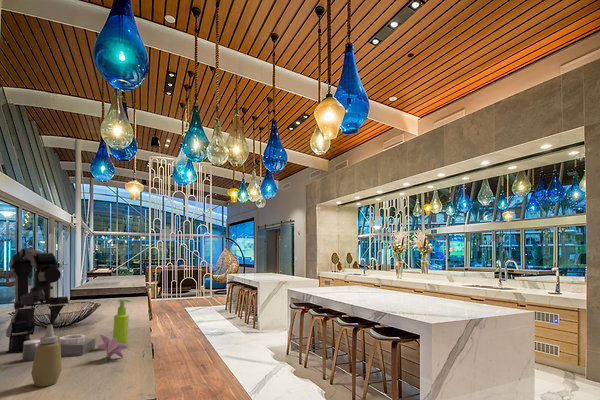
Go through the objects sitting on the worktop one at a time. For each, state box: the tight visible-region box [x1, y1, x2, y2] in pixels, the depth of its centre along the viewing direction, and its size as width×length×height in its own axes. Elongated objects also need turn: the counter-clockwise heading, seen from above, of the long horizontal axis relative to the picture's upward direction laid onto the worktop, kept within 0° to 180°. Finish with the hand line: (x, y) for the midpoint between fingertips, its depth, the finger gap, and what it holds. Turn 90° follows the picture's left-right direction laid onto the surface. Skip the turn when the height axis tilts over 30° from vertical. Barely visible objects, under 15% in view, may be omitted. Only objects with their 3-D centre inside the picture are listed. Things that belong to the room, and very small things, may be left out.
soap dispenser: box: [112, 299, 132, 345], centre depth 174 cm, size 6×7×20 cm
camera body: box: [57, 334, 97, 357], centre depth 163 cm, size 14×12×6 cm
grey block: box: [21, 339, 41, 363], centre depth 151 cm, size 5×5×7 cm
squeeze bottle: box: [30, 324, 62, 387], centre depth 125 cm, size 8×8×18 cm
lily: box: [96, 333, 130, 363], centre depth 151 cm, size 12×12×10 cm
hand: (40, 325), depth 152 cm, fingers open, 9 cm apart
